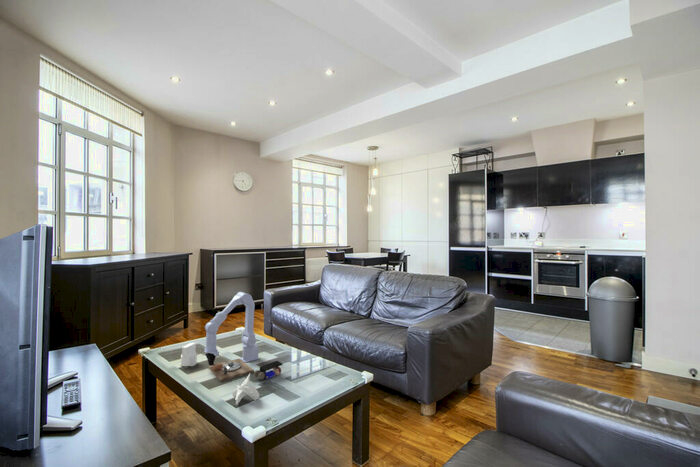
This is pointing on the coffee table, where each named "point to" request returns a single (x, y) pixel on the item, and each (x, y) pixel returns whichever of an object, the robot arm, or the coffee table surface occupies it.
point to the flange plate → (230, 366)
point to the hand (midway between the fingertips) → (211, 365)
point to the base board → (226, 375)
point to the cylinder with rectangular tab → (189, 355)
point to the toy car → (264, 368)
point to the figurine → (245, 391)
